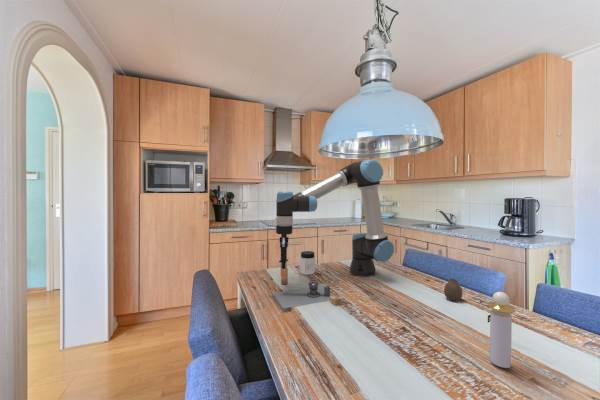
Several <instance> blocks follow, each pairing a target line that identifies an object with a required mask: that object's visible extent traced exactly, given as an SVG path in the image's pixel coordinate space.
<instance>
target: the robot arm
mask: <svg viewBox="0 0 600 400" xmlns="http://www.w3.org/2000/svg"><path fill="white" fill-rule="evenodd" d="M383 175H384V169H383V167H382V164H381V163H380V162H378V161H377V160H375V159H365V160H360V161H354V162H351V163H350V164H348V165H346V166H344V167H343V168H341V169H338V170H337V171H336V172H335V174H332V175H331V176H329V177H327V178H325V179H323V180H320V181H319V182H317V183H315V184H312V185H311V186H309V187H307V188H305V189H304V190H302V191H299V192H298V193H296V194H295V193H294V192H293V191H278V192H277V193H276V200H275V203H276V204H275V205H276V206H275V207H276V208H275V209H276V212H275V213H276V214H275V215H276V217H275V218H274V219H275V222H276V223H275V224H276V226H275V233H276V234H277V235H281V236H280V237H279V248H280V260H279V263H280V269H281V268H288V267H287V266H288V265H287V263H288V261H289V259H288V257H287V255H288V253H287V251H288V245H289V236H288V235H292V234H293V223H294V222H293V221H294V219H293V218H294V213H297V212H298V213H306V212H307V213H310V212H315V211H316V210H317V209H318V199H320V198H322V197H324V196H326V195H328V194H329V193H331V192H333V191H335V190H338V189H340V188H341V187H347V186H349V185H353V184H356V185H357V188H358V189H359V190H360V193H361V198H362V199H361V200H362V206H363V207H362V208H363V212H364V221H365V225H366V231H367V232H365V233H364V232H363V233H355V234H353V235H352V239H351V243H352V244H351V247H352V249H351V251H352V253H351V254H352V259H351V262H350V265H349V268H348V269H349V273H350V274H351V275H354V276H360V277H371V276H375V275H376V273H377V272H376V271H377V270H376V269H377V268H376V267H375V266H376V265H375V262H374V260H375V261H377V262H381V263H382V262H388V261H389V260H390V259H391V258H392V257H393V255H394V252H395V251H394V250H395V246H394V244H393V242H391V240H389V237H388V234H387V232H385V229H384V223H383V217H382V211H381V209H382V208H381V203H380V197H379V189H378V187H379V186H380V184H381V182H380V181H381V180H382V178H383Z"/></svg>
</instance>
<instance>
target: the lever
mask: <svg viewBox="0 0 600 400" xmlns="http://www.w3.org/2000/svg"><path fill="white" fill-rule="evenodd" d="M288 270H289V269H288V267H287V268H281V267H280V285H282V286H283V288H284V289H291V290H298V289H312V290H315V289H324V295H330V292H331V288H330V287H331V286H330V284H328V283H319V282H318V281H309V282H308V283H303V282H302V283H300V282H299V283H297V282H296V283H295V282H293V283H292V282H291V283H290V282H289V278H288V277H289V273H288Z"/></svg>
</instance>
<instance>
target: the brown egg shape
mask: <svg viewBox="0 0 600 400" xmlns="http://www.w3.org/2000/svg"><path fill="white" fill-rule="evenodd" d="M443 292H444V296H445V298H446V299H447V300H448V299H449V301H450V300H452V301H451V302H459V301H460V300H461V299H462V298H463V288H462V286H461V285H460V284H459V283H458V281H457V279H455V278H450V279H449V281H448V282H447V283H446V284H445V286H444V290H443Z"/></svg>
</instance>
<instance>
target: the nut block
mask: <svg viewBox="0 0 600 400" xmlns="http://www.w3.org/2000/svg"><path fill="white" fill-rule="evenodd" d="M333 295H334V296H330V301H329V303H330V304H332V305H333V306H334V307H336V306H340V305H341V306H342V305H344V297H342V296H340V295H339V294H333Z"/></svg>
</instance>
